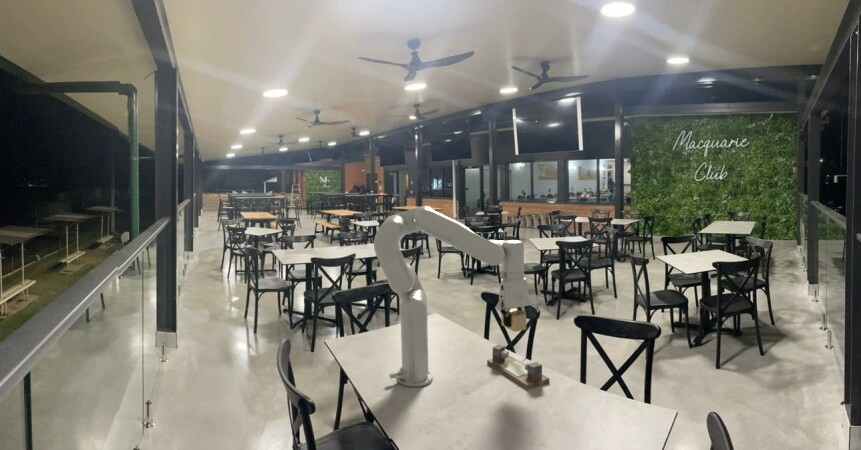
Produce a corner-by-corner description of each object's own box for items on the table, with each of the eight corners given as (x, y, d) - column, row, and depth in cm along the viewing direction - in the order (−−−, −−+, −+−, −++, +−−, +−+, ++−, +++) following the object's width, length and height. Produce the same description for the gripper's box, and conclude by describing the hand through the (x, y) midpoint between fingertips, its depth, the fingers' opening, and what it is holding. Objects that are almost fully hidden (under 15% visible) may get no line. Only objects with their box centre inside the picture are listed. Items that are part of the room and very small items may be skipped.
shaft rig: (526, 389, 162) (527, 369, 161) (487, 363, 183) (487, 346, 182) (549, 382, 167) (549, 363, 166) (508, 358, 188) (508, 341, 187)
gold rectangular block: (514, 331, 165) (514, 315, 164) (501, 325, 172) (501, 309, 171) (526, 329, 167) (526, 312, 166) (512, 322, 174) (512, 307, 173)
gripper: (499, 280, 160) (499, 332, 162) (539, 274, 167) (539, 323, 170) (487, 276, 167) (487, 325, 169) (526, 270, 174) (526, 318, 176)
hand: (513, 324), depth 169 cm, fingers closed on gold rectangular block, 5 cm apart
